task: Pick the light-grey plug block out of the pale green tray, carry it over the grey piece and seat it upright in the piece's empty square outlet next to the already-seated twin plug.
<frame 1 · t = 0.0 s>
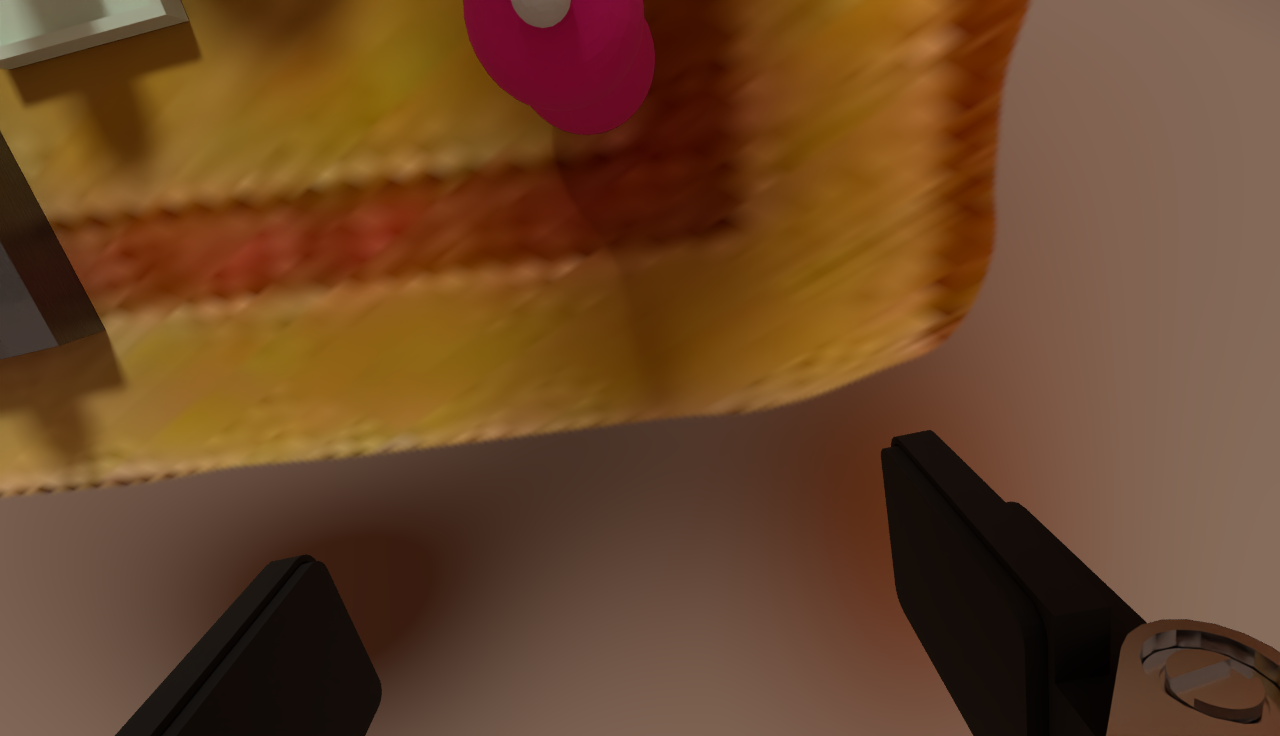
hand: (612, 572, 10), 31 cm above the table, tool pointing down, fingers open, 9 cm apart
pepper mill: (590, 69, 36), on the table
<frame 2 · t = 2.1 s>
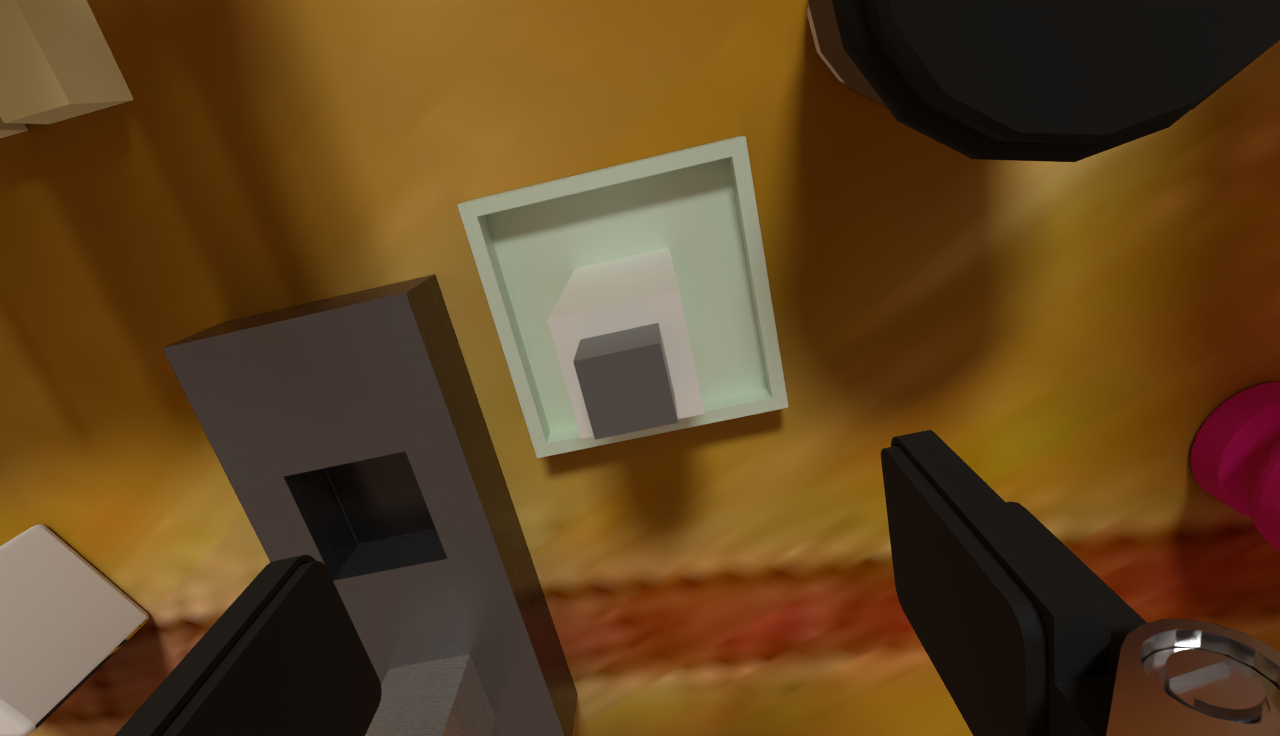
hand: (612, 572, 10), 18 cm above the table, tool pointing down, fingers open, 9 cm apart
grey piece: (418, 529, 31), on the table
pepper mill: (1253, 440, 30), on the table
tray: (632, 301, 27), on the table
medicine bottle: (59, 597, 33), on the table
plug: (632, 304, 27), point 1 cm above the table, touching tray
coffee cup: (890, 1, 24), on the table
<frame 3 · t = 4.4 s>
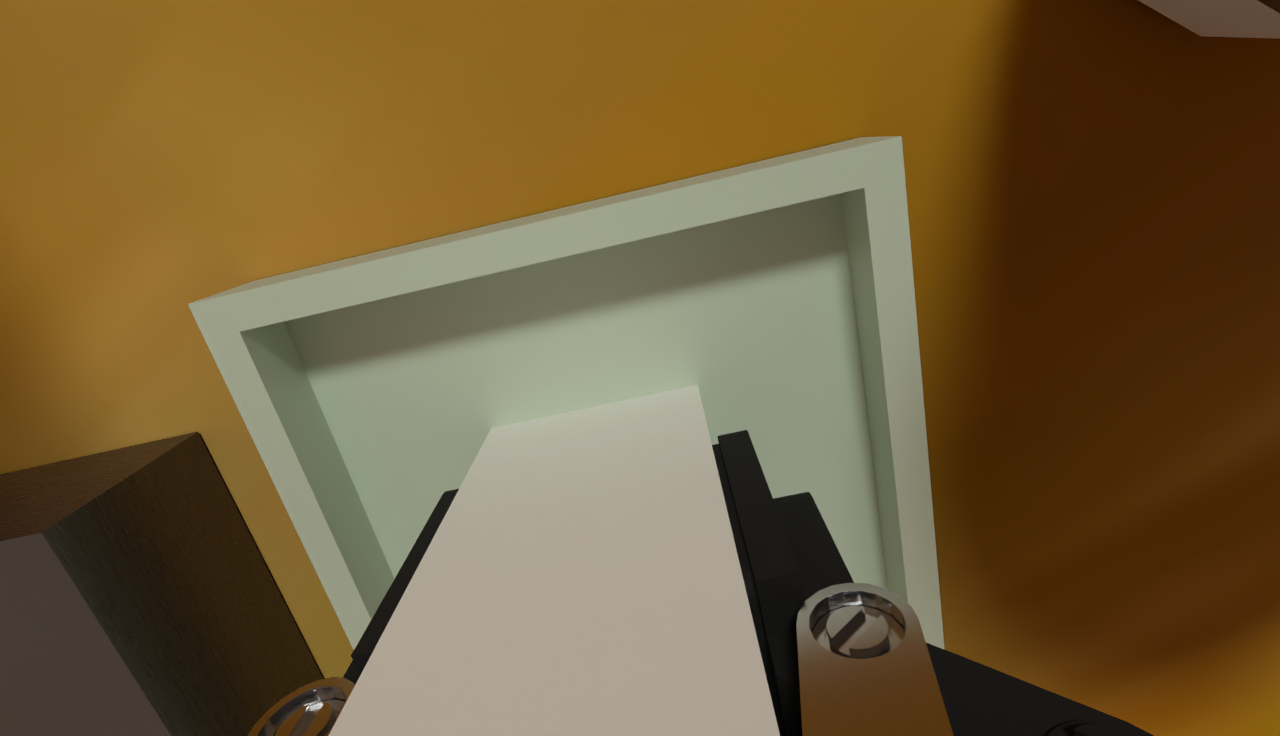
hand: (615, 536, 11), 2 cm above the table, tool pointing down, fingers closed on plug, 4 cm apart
tray: (619, 482, 13), on the table
plug: (618, 497, 12), point 1 cm above the table, touching gripper, tray
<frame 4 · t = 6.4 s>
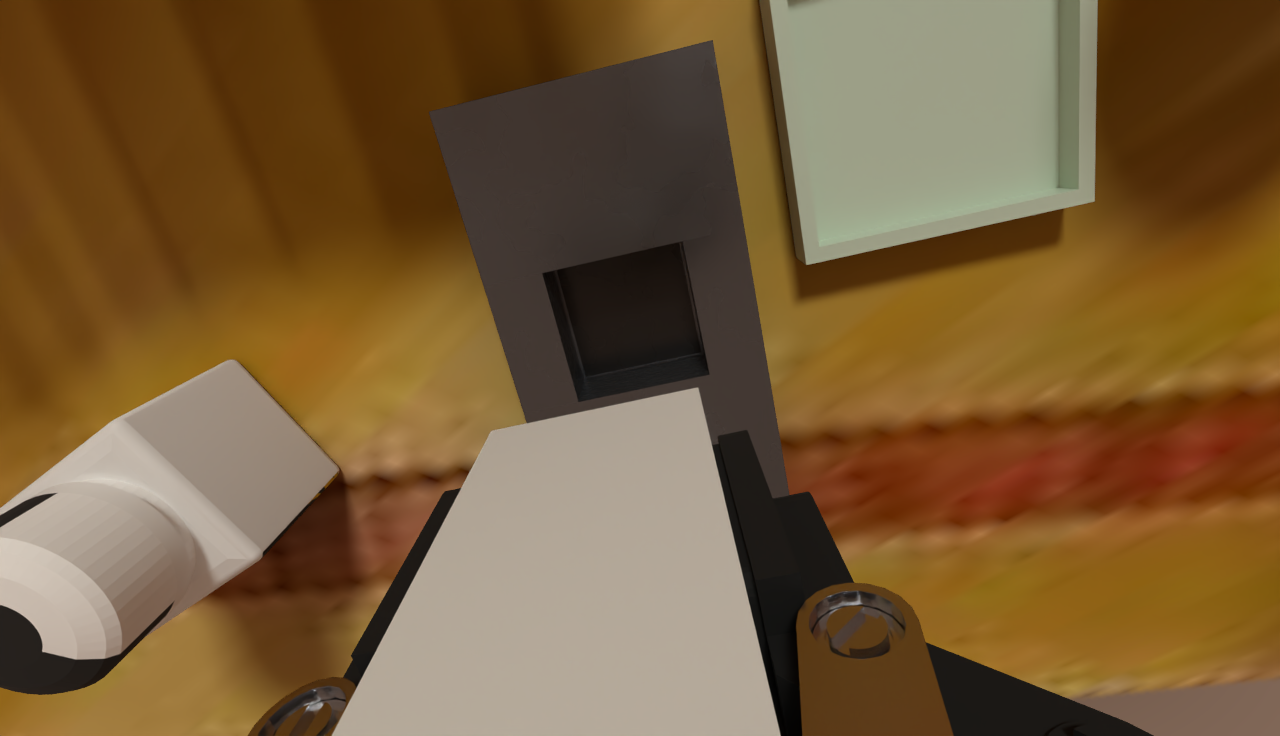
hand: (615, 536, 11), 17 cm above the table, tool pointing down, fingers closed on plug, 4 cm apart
grey piece: (645, 366, 29), on the table
tray: (918, 86, 25), on the table
medicine bottle: (242, 450, 30), on the table
plug: (618, 500, 12), point 16 cm above the table, touching gripper
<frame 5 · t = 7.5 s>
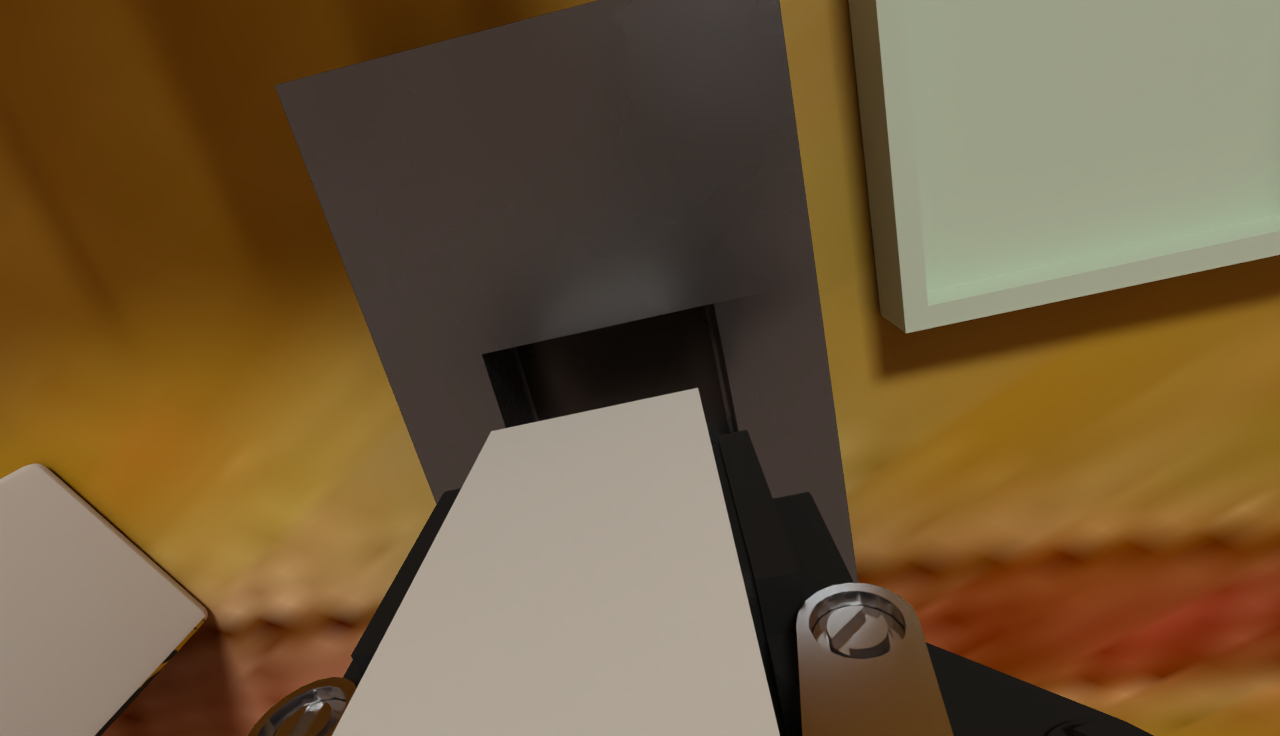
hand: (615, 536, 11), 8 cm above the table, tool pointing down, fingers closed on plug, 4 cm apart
grey piece: (649, 471, 19), on the table
tray: (1088, 49, 15), on the table
medicine bottle: (68, 584, 21), on the table
plug: (618, 500, 12), point 6 cm above the table, touching gripper
when the fingers open (4 cm above the table, at t = 8.5 s): plug drops 2 cm, resting on grey piece.
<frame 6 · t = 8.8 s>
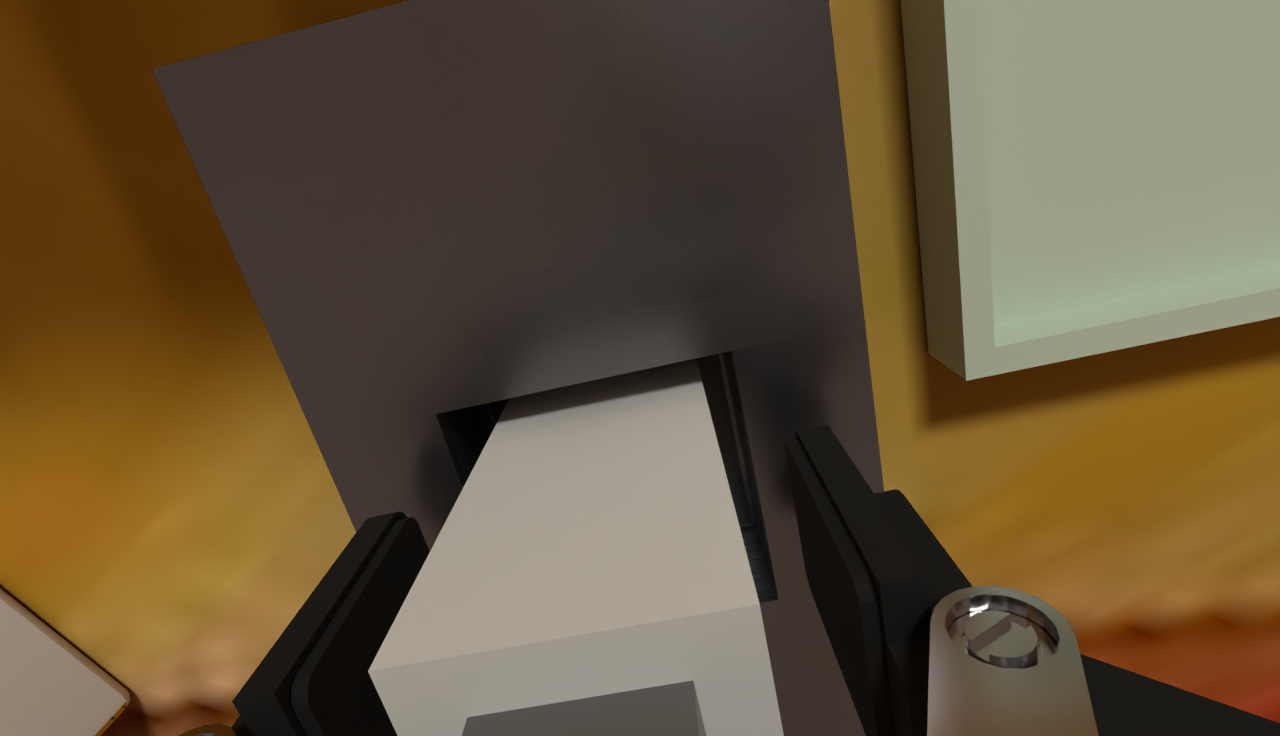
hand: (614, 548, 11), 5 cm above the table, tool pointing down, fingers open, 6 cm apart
grey piece: (648, 535, 16), on the table
tray: (1195, 28, 12), on the table
plug: (623, 448, 14), point 1 cm above the table, touching grey piece
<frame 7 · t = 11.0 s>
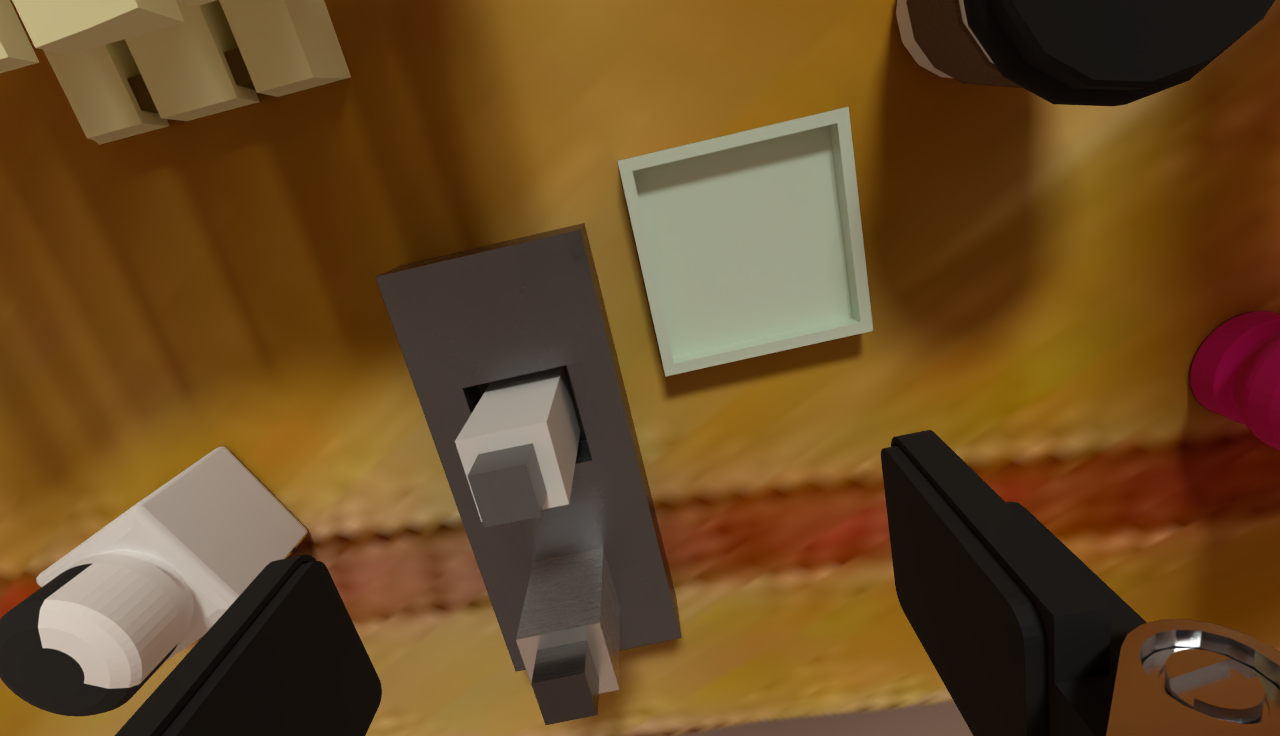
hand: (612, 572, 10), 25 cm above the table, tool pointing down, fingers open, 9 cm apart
grey piece: (551, 447, 37), on the table
pepper mill: (1239, 362, 36), on the table
tray: (744, 245, 33), on the table
medicine bottle: (227, 516, 38), on the table
plug: (536, 406, 35), point 1 cm above the table, touching grey piece
coffee cup: (956, 5, 30), on the table
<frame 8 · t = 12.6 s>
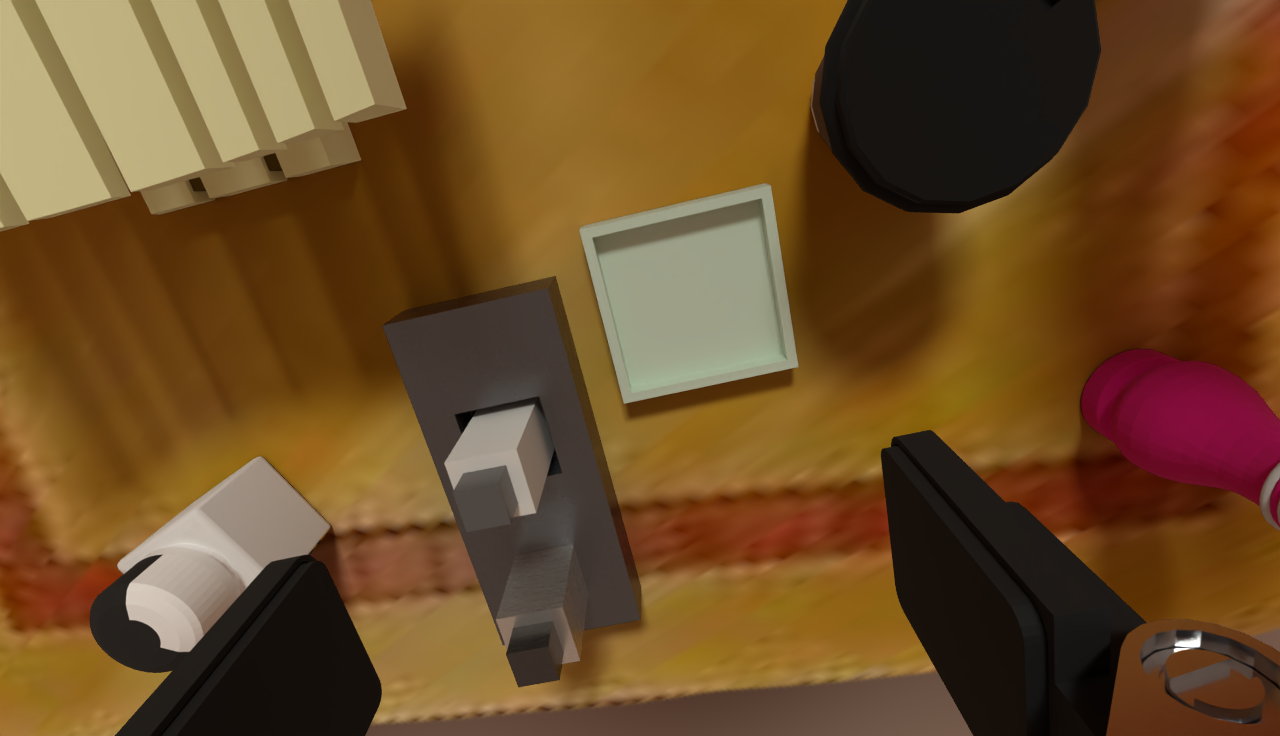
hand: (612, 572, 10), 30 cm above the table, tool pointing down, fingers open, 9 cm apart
grey piece: (531, 459, 44), on the table
slatted curved stool: (198, 44, 35), on the table
pepper mill: (1125, 391, 42), on the table
tray: (690, 294, 40), on the table
medicine bottle: (264, 513, 45), on the table
plug: (518, 426, 42), point 1 cm above the table, touching grey piece
coffee cup: (865, 96, 36), on the table
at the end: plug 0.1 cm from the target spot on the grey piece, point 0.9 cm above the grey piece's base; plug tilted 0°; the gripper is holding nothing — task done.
